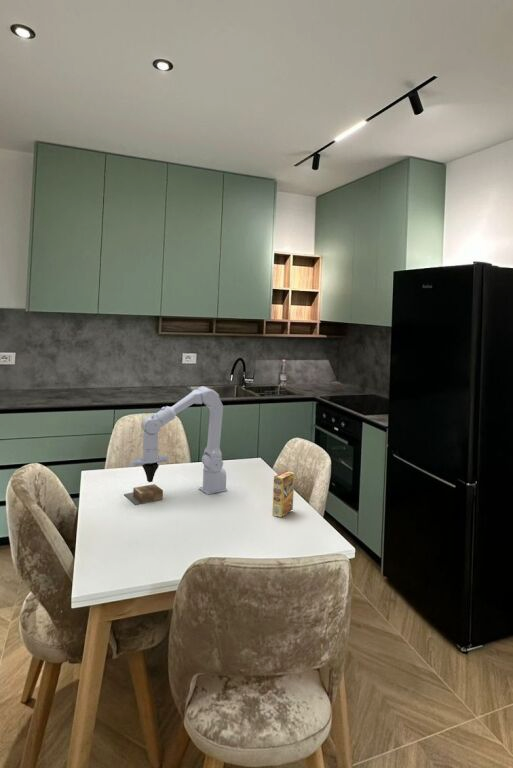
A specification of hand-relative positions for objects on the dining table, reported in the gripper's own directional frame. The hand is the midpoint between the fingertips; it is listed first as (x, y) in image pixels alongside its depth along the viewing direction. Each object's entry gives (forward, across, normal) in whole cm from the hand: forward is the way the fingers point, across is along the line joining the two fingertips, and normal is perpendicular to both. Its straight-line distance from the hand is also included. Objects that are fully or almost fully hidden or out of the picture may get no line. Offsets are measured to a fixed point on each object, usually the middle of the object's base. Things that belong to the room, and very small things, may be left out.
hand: (149, 481), depth 189 cm
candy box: (+7, -37, +38) cm, 54 cm away
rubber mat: (+7, +2, -2) cm, 8 cm away
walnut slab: (+5, -4, 0) cm, 6 cm away
